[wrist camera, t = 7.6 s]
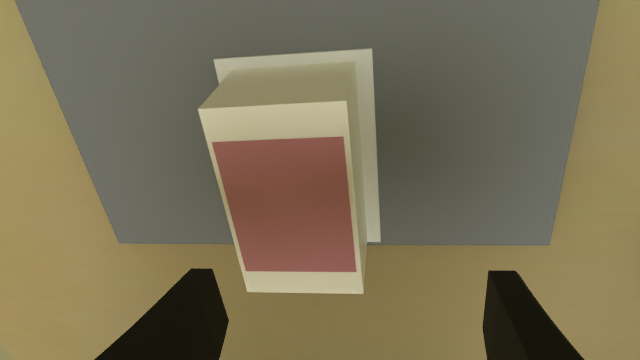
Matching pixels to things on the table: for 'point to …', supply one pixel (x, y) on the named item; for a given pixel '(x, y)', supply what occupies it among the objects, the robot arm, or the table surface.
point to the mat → (373, 103)
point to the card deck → (291, 175)
